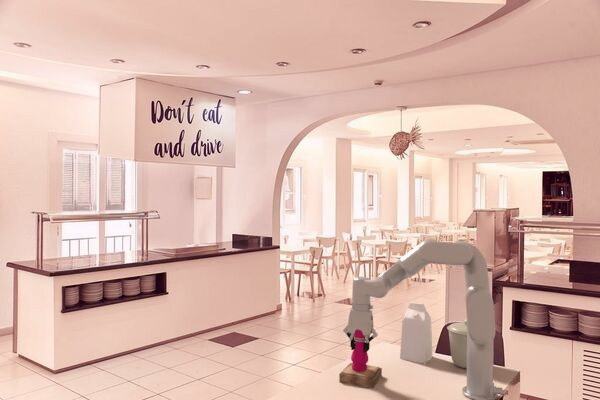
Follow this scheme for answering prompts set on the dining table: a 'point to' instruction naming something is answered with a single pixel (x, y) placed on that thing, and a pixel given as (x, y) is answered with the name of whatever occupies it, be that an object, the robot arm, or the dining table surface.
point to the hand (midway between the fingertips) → (359, 349)
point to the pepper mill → (359, 352)
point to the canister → (458, 343)
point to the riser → (361, 376)
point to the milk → (416, 334)
